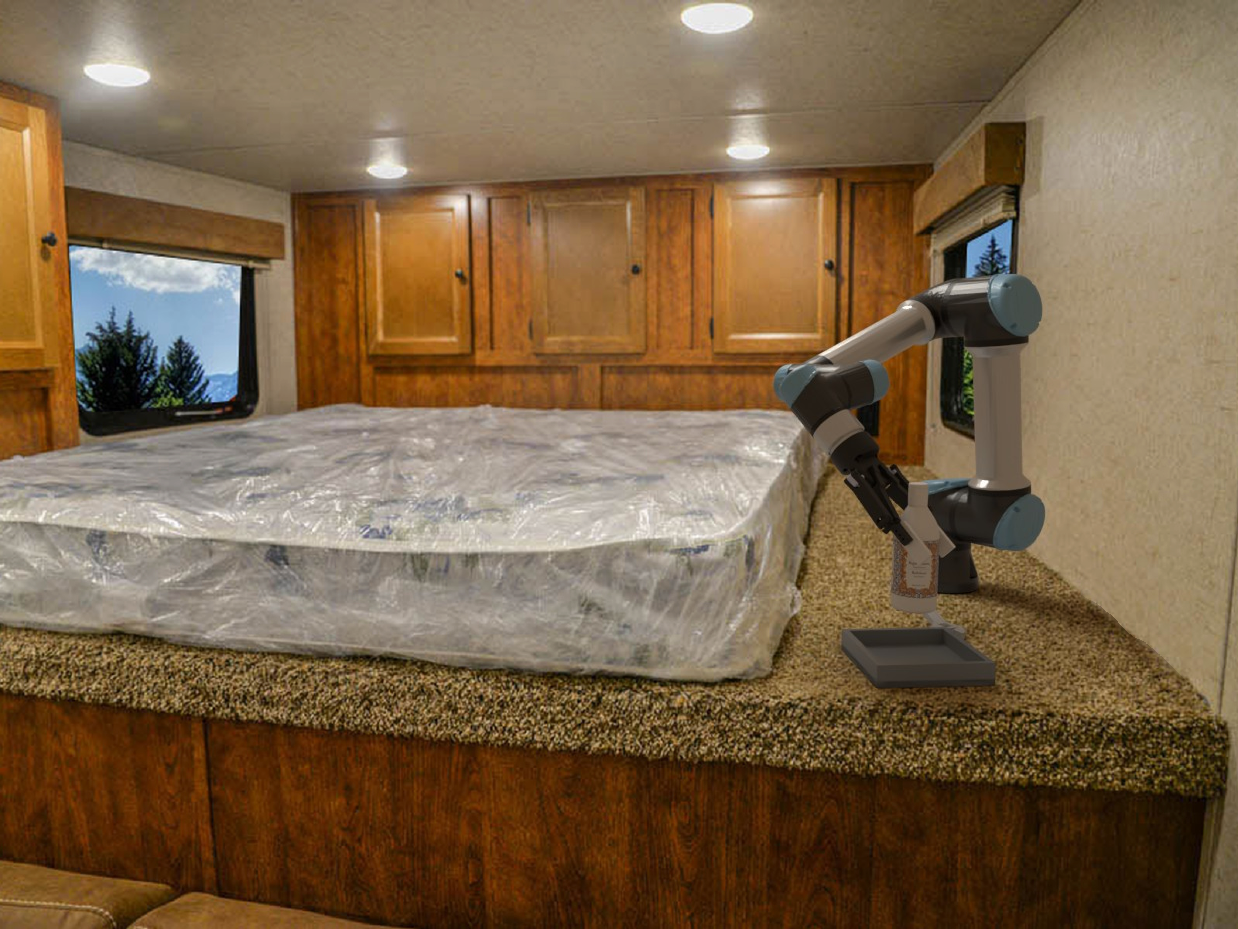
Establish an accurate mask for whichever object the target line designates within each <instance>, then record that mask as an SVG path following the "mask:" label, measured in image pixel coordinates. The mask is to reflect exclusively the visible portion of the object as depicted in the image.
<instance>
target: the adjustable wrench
mask: <svg viewBox="0 0 1238 929" xmlns="http://www.w3.org/2000/svg"><path fill="white" fill-rule="evenodd" d="M921 615H922V616H923V617H924V619H926V620H927V621H928V622H929V624H930V626H929V627H947V628H948V629H950V630H951V631H953V632H954V633H955V634H957V635H958V636H959V637H961V638H962V639H964V640H965V639H966V632H967V631H966V629H965V626H964V625H958V624H954V623H951V622H948V621H947V620H946V619H944V618H943V616H942V614H940V613H939V612H938V610H935V611H933V612H930V613H924V614H921Z"/></svg>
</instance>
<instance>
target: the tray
mask: <svg viewBox="0 0 1238 929" xmlns="http://www.w3.org/2000/svg"><path fill="white" fill-rule="evenodd" d="M840 642H841V644H840V649H841V651H842V652H843V653H844V655H846V657H847V658H848V659H850V661H851V662H852V663H853V664H854V665H855V666H856V667H857V668H858V669H859V670H860V672H862V674H863V675H864V676H865V677H866V679H868V680H869V681H870V682H871V684H872V686H874V687H875V688H876V689H890V688H891V689H892V688H894V689H895V688H897V689H898V688H900V689H901V688H937V687H939V688H941V687H942V688H943V687H949V688H950V687H983V686H984V687H986V686H990V687H991V686H996V664H997V663H996V662H995V661H994V660H993V659H991V658H990V657H988V656H987V655H986V654H984V653H983V652H981V651H980V650H979V649H977V648H976V647H974V645H972V644H971V643H969V642H968V641H966V640H965V639H962V638H961V637H959V636H958V635H957V634H955V633H954V632H953V631H951V630H950V629H948V628H947V627H930V626H929V627H928V626H926V627H925V626H924V627H923V626H921V627H886V628H885V627H879V628H877V627H875V628H872V627H871V628H841V641H840Z"/></svg>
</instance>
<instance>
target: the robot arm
mask: <svg viewBox="0 0 1238 929" xmlns="http://www.w3.org/2000/svg"><path fill="white" fill-rule="evenodd" d="M1042 317H1043V301H1042V297H1041V294H1040V292H1039V290H1038V287H1037V286H1036V285H1035V284H1034V283H1033V282H1032V281H1031V279H1030V278H1028V277H1026V276H1024V275H1023V274H1018V273H997V274H992V275H981V276H971V277H959V278H952V279H948V280H945V281H943V282H942V281H941V282H940V283H937V284H936V285H934V286H931V287H930V288H927V289H925V290H923V291H922V292H919V293H917V294H915V295H914V296H911V297H910V298H908V299H906V300H904V301H902V302H901V303H900V304H899V305H898V306H897V308H896V310H895V312H893V313H892V314H889V315H888V316H886V317H884V318H882V319H880V320H878V321H877V322H875V323H873V324H871V325H869V326H868V327H866V328H864V329H862V330H861V331H858V332H857V333H854V334H853V335H851V336H849V337H848V338H846V339H843V340H842V341H841V342H839V343H837V344H835V345H834V346H831V347H830V348H828V349H826V350H824V351H823V352H821V353H819V354H817V355H815V356H812V357H811V358H809V359H808V360H806V361H803V362H801V363H790V364H785V365H782V366H781V367H780V368H778V369H777V371H776V372H775V374H774V377H773V381H772V388H773V391H774V394H775V396H776V397H777V398H778V400H779V401H780V402H783V403H785V404H786V406H787V407H788V410H789V411H791V412H792V413H793V415H794V416H795V417H796V419H797V420H798V421H799V422H800V423H801V424H802V426H803V427H804V429H806V431H807V432H808V433H809V434H810V436H811V437H812V438H813V440H815V443H817V445H818V448H819V449H820V450H822V451H823V452H824V453H825V455H826V456H829V457H830V461H831V462H832V464H833V465H834V467H835V468H836V469H837V470H838V472H839V473H840V474H841V475H842V476H846V477H845V478H844V479H843V483H844V484H845V485H846V486H847V488H849V489H850V490H851V491H852V492H853V495H855V497H856V498H857V499H858V501H859V503H860V504H861V506H862V507H863V508H864V510H865V511H866V513H867V514H868V516H869V518H870V519H871V520H872V521H873V523H874V524H875V526H876V527H877V528H878V529H879V530H881V532H882V533H883V534H885V535H887V534H889V533H890V532H891V533H892V534H894V536H895V537H896V538H897V539H898V541H899V542H900V543H901V544H902V546H903V547H904V548H905V550H906V551H907V552H908V553H909V555H910V556H911V557H912V558H913V560H914V561H915V562H916V564H917V565H918V566H919V565H921V564H922V563H923V562H925V561H926V560H927V559H928V558H929V557H931V556H932V555H933V554H932V553H931V551H930V550H929V549H928V548H927V546H926V545H925V544H924V543H923V541H922V540H921V539H920V538H919V536H918V535H917V534H916V533H915V531H914V530H913V529H912V528H911V526H910V525H909V524H908V523H907V521H903V522H902V523H900V522H901V519H900V515H899V513H898V511H897V509H896V508H895V505H894V503H895V504H896V505H897V506H898V507H899V508H900V509H901V510H903V511H904V510H905V509H906V507H907V506H908V488H909V483H910V481H909V480H908V478H906V476H905V475H904V474H903V473H902V471H901V470H900V468H899V467H898V465H897V464H895V463H892V464H891V465H889V466H887V465H886V464H885V463H884V462H883V461H881V459H880V458H879V457H878V454H879V452H880V448H881V447H880V445H879V444H878V443H877V442H876V440H875V439H874V438H873V436H871V434H870V433H869V432H868V431H865V426H864V425H863V424H862V423H861V422H860V421H859V419H858V418H857V417H856V416H855V415H854V413H853V412H852V411H854V410H857V409H859V408H862V407H865V406H867V405H868V406H870V405H873V403H876V402H877V401H879V400H882V399H883V398H884V397H885V396H886V395H887V394H888V392H889V389H890V377H889V373H888V371H887V368H886V367H885V366H884V365H883V363H885V362H887V361H888V360H890V359H892V358H893V357H895V356H898V355H899V354H901V353H902V352H904V351H906V350H908V349H909V348H911V347H912V346H924V345H927V344H928V343H930V342H931V341H934V340H938V339H944V338H963V349H965V351H967V352H968V353H969V354H970V355H971V356H972V380H973V382H972V383H973V384H972V385H973V386H972V387H973V415H974V416H973V418H974V420H973V422H974V449H975V450H974V453H975V454H974V459H975V475H974V476H973V477H972V478H970V477H956V478H951V477H950V478H939V479H938V478H937V479H927V480H922V481H921V482H923V483H927V484H928V504H927V506H928V508H929V510H930V512H931V513H932V515H933V517H934V518H935V520H936V522H937V525H938V528H939V534H940V545H939V567H938V589H937V593H943V594H945V593H946V594H961V593H963V594H964V593H969V592H970V593H971V592H974V591H976V590H978V589H979V582H980V581H979V580H980V578H979V574H978V571H977V568H976V567H977V566H976V564H975V560H974V557H973V552H972V544H973V545H978V546H984V547H988V548H992V549H995V550H997V551H1009V552H1021V551H1022V552H1023V551H1024V550H1027V549H1028V548H1030V547H1031V546H1032V545H1033V544H1034V543H1035V542H1036V540H1037V539H1038V537H1039V536H1040V535H1041V533H1042V530H1043V527H1044V525H1045V519H1046V507H1045V506H1046V505H1045V504H1044V502H1043V500H1042V499H1041V498H1040V497H1039V496H1038V495H1036V494H1033V493H1032V481H1031V480H1030V479H1029V478H1028V477H1026V476H1025V475H1024V473H1023V434H1022V432H1023V429H1022V428H1023V425H1022V424H1023V423H1022V383H1021V382H1022V374H1021V371H1022V370H1021V369H1022V368H1021V353H1022V351H1023V350H1024V349H1025V348H1027V346H1028V345H1029V343H1030V339H1029V336H1030V335H1032V334H1034V333H1035V332H1036V331H1037V330H1038V328H1039V327H1040V322H1041V321H1042ZM892 501H893V502H894V503H893V502H892Z"/></svg>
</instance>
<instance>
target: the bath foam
mask: <svg viewBox="0 0 1238 929" xmlns="http://www.w3.org/2000/svg"><path fill="white" fill-rule="evenodd" d="M909 482H910V481H909ZM927 504H928V484H927V483H923V482H922V481H913V482H910V483H909V488H908V506H907V507H906V509H905V510H903V512H902V513H901V515H899V517H900V519H901V522H900V523H902V522H903V521H907V523H908V524H909V525H910V526H911V528H912V529H913V530H914V531H915V533H916V534H917V535H918V536H919V538H920V539H921V540H922V541H923V543H924V544H925V545H926V546H927V548H928V549H929V550H930V551H931V553H932V554H933V555H932V556H931V557H929V558H928V559H927V560H926V561H925V562H923V563H922V564H921V565H919V566H918V565H917V564H916V562H915V561H914V560H913V558H912V557H911V556H910V555H909V553H908V552H907V551H906V550H905V548H904V547H903V546H902V544H901V543H900V542H899V541H898V539H897V538H896V537H895V536H894V534H893V533H892V534H893V535H892V552H891V554H892V556H891V579H890V580H891V582H890V583H891V584H890V606H891V607H892V608H893V609H895V610H897V611H898V612H899V611H900V612H902V613H909V614H917V615H919V614H920V615H922V614H924V613H930V612H933V611H935V610H936V609H937V605H938V592H937V589H938V567H939V545H940V534H939V528H938V525H937V522H936V520H935V518H934V517H933V515H932V513H931V512H930V510H929V508H928V506H927ZM936 611H937V610H936Z"/></svg>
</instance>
